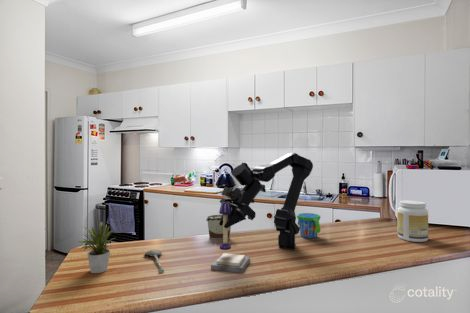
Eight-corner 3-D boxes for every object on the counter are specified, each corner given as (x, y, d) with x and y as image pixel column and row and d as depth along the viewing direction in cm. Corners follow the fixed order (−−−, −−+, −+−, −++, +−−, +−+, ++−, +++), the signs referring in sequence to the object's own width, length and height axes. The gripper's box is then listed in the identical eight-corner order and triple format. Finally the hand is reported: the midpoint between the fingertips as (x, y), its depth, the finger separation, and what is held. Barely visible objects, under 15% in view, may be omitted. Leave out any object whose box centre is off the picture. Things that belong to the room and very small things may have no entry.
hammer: (160, 253, 119) (143, 256, 116) (160, 245, 119) (143, 248, 116) (171, 272, 99) (150, 276, 96) (170, 262, 99) (150, 266, 96)
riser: (249, 261, 108) (249, 254, 108) (242, 272, 97) (242, 265, 97) (221, 258, 111) (221, 251, 111) (210, 269, 100) (210, 261, 100)
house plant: (76, 264, 104) (76, 219, 104) (118, 259, 110) (118, 215, 110) (71, 281, 91) (71, 228, 91) (119, 273, 97) (119, 224, 96)
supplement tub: (433, 239, 133) (433, 202, 133) (420, 244, 127) (420, 205, 126) (405, 233, 143) (405, 199, 143) (392, 237, 137) (392, 201, 136)
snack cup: (291, 232, 146) (291, 212, 146) (311, 231, 148) (311, 211, 148) (305, 242, 130) (305, 219, 130) (327, 240, 133) (327, 218, 133)
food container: (234, 235, 141) (234, 214, 141) (232, 239, 135) (232, 217, 135) (208, 234, 142) (208, 214, 142) (206, 238, 136) (206, 216, 136)
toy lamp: (219, 245, 109) (219, 201, 108) (231, 245, 109) (231, 200, 109) (219, 250, 104) (219, 203, 104) (232, 250, 104) (232, 203, 104)
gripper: (223, 177, 116) (198, 207, 111) (247, 181, 100) (218, 217, 95) (241, 195, 120) (217, 225, 115) (267, 202, 103) (240, 238, 98)
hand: (222, 226), depth 106 cm, fingers closed on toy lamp, 4 cm apart
